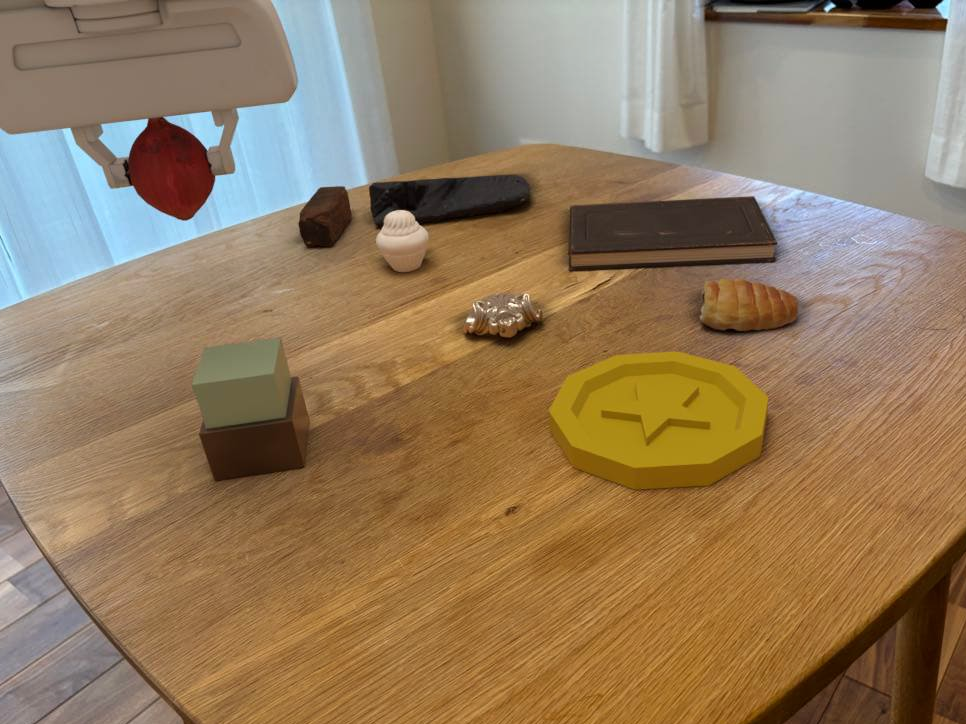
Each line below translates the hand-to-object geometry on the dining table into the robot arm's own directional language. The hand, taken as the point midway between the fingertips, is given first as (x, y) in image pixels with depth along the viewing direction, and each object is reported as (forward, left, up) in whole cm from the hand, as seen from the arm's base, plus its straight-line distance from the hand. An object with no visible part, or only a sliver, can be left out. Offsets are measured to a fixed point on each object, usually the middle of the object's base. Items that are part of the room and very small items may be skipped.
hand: (175, 179), depth 63 cm
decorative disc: (+34, -9, -22) cm, 41 cm away
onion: (0, 0, -3) cm, 3 cm away
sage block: (+2, -4, -17) cm, 18 cm away
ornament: (+24, +11, -22) cm, 34 cm away
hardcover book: (+46, +29, -22) cm, 58 cm away
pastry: (+47, +7, -22) cm, 52 cm away
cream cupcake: (+15, +31, -22) cm, 40 cm away
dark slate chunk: (+22, +51, -22) cm, 59 cm away
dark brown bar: (+5, +46, -22) cm, 51 cm away
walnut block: (+2, -4, -22) cm, 22 cm away
